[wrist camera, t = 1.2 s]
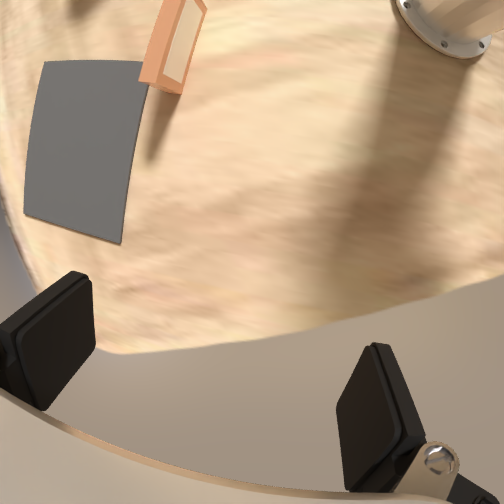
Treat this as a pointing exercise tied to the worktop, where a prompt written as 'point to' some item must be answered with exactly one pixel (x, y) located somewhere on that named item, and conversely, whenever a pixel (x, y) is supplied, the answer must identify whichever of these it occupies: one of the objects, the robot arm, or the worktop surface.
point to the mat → (84, 144)
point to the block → (172, 45)
